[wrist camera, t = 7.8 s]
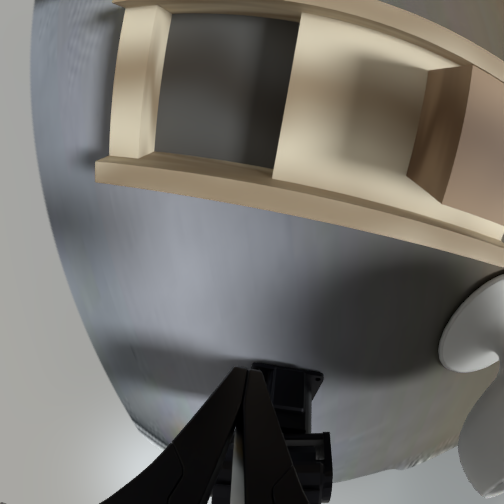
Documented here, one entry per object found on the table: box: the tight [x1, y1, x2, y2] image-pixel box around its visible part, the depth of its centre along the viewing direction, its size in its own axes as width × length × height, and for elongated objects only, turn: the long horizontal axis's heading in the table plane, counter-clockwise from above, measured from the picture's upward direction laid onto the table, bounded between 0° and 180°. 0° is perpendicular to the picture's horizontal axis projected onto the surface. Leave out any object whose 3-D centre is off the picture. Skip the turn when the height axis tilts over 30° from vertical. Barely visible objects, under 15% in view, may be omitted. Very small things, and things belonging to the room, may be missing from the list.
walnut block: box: [406, 65, 504, 226], centre depth 11 cm, size 6×6×4 cm
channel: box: [95, 0, 504, 268], centre depth 14 cm, size 11×25×4 cm, turn 81°
